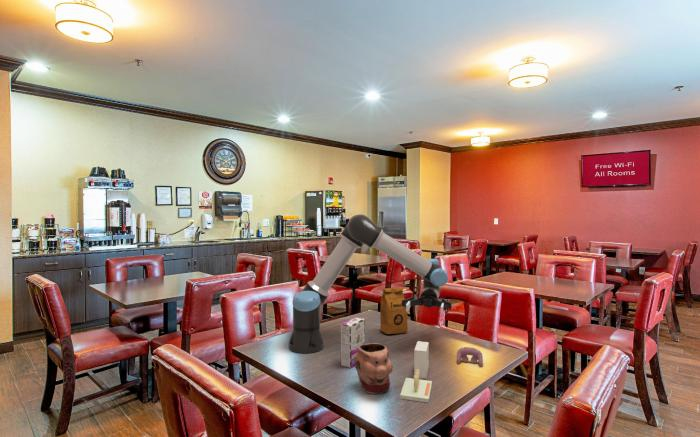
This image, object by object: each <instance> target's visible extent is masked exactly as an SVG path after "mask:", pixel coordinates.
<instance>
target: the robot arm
mask: <svg viewBox="0 0 700 437" xmlns="http://www.w3.org/2000/svg"><path fill="white" fill-rule="evenodd" d="M364 245H365V246H367V247H368V248H371V249H372V248H375V249H376V250H378V251H379V252H382V254H384V255H386V256H388V257H389V258H391V259H393V260H394V261H396V262H398V263H399V264H401V266H403V267H404V268H405V267H406V268H407V269H408V270H411V271H412V272H413V273H415V274H417V275H418V276H420V277H422V291H421V294H420V296H419V297H417V298H416V296H415V295H413V296H411V297H408V298H404V300H402V306H403V307H404V306H405V308H406V312H407V313H408V312H409V311H410V308H411V307H417V306H420V307H422V306H424V307H425V308H433V307H437V308H440V315H443V314H444V311H447V309H448V310H452V309H453V307H452V302H451V301H449V300H447V299H445V297H441V298H440V299H439V297H440V295H441V289H440V288H441V287H443V286H445V285H446V284H447V283H448V280H449V275H448V273H447V272H446V270H444V269H443V268H442V267H440V260H439V259H436V258H426V257H424V256H422V255H420V254H419V253H417V252H415V251H414V250H412V249H410V248H409V247H407V246H406V245H404V244H403V243H401V242H399V241H398V240H396V239H395V238H393V237H392V236H390V235H388V234H386V233H385V232H384V229H383V228H381V226H378V225H377V224H376V223H374V222H373V220H372V219H370V217H368V216H367V215H365V214H355V215H353V216H352V217H350V218H349V220H348V221H347V224H346V225H345V227H343V230H342V232H341V233H340V239H339V242H338V243H337V244H336V246H335V247H334V249H333V250H332V252H331V253H330V255H329V256H328V258H327V259H326V260H325V262H324V263H323V265H322V267H320V270H319V271H318V272H317V274H316V276H315V277H314V278H313V280H309V281H308V282H307V283H306V285H305V286H304V288H302V290H301V291H299V292H296V293H295V294H294V295H293V297H292V332H291V335H290V338H289V342H288V349H289V350H290V351H291V352H294V353H298V354H312V353H316V352H319V351H321V350H323V349H324V348H325V343H324V338H323V335H322V332H321V329H320V328H321V322H320V321H321V308H322V306H323V305H324V303H325V302H326V300H327V298H328V297H329V296H330V295H329V291H330V289H331V287H332V286H333V284H334V283H335V281H336V280H337V278H338V277H339V275H340V274H341V272H342V271H343V269H344V268H345V267H346V265H347V264H348V262H349V261H350V259H351V258H352V256H353V254H354V253H355V252H356V250H357V249H361V248H362V247H363V246H364Z"/></svg>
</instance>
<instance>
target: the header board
mask: <svg viewBox="0 0 700 437" xmlns="http://www.w3.org/2000/svg"><path fill="white" fill-rule="evenodd" d="M432 387H433V380H427V379H421V378H419V369H416V372H415V375H413V378H410V377H405V380H404V382H403V385H402V388H401V392H400V394H399V399H400V400H407V401H412V402H421V403H429V402H430V397H431V392H432Z"/></svg>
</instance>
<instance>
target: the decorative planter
mask: <svg viewBox="0 0 700 437" xmlns="http://www.w3.org/2000/svg"><path fill="white" fill-rule="evenodd" d="M393 366H394V365H393V363H392V361H391V357H390V354H389V349H388V348H387V346H386V345H384V344H382V343H375V342H372V343H365V344H363V345H361V346H359V349H358V353H357V354H356V356H355V366H354V368H355V370H356V374H357V376H358V379H359V383H360V387H361V389H362V390H363V391H365V393H369V394H373V395H375V394H382V393H386V392H388V390H390V386H391V381H390V380H391V379H390V375H391V374H392V373H393V369H394V368H393Z"/></svg>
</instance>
